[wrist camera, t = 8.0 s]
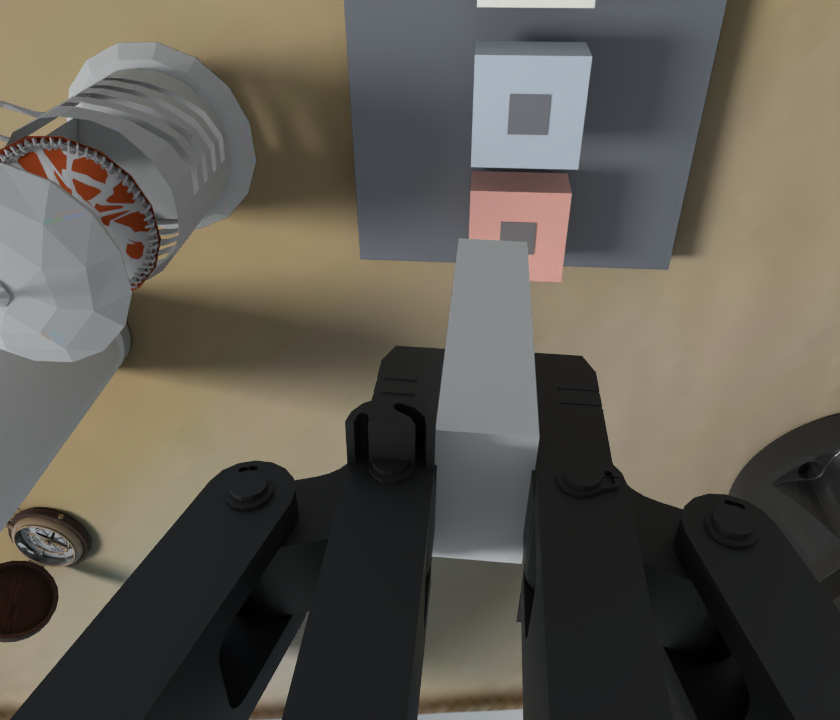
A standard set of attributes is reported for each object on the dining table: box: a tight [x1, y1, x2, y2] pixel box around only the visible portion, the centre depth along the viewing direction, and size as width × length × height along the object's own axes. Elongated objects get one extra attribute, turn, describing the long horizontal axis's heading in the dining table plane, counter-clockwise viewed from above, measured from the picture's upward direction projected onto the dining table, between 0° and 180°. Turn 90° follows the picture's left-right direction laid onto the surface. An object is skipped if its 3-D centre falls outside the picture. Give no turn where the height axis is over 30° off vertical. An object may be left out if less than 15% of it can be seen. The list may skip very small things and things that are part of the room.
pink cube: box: [469, 171, 572, 282], centre depth 35 cm, size 4×4×4 cm
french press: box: [0, 42, 256, 362], centre depth 27 cm, size 10×12×25 cm
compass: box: [0, 509, 91, 642], centre depth 54 cm, size 8×8×7 cm
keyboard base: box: [344, 0, 727, 270], centre depth 33 cm, size 16×18×2 cm
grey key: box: [471, 41, 592, 170], centre depth 31 cm, size 4×4×4 cm
